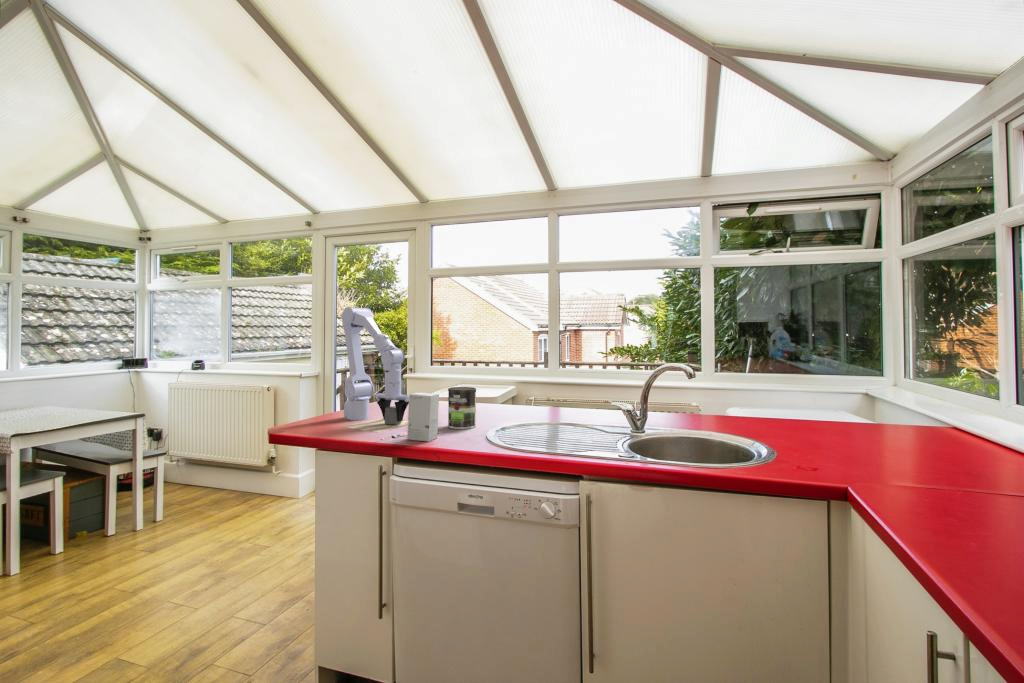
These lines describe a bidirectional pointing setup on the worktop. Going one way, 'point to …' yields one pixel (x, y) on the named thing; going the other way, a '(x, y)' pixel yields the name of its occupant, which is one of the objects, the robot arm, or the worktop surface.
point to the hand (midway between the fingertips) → (393, 420)
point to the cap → (391, 415)
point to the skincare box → (423, 416)
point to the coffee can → (462, 407)
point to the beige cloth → (376, 425)
